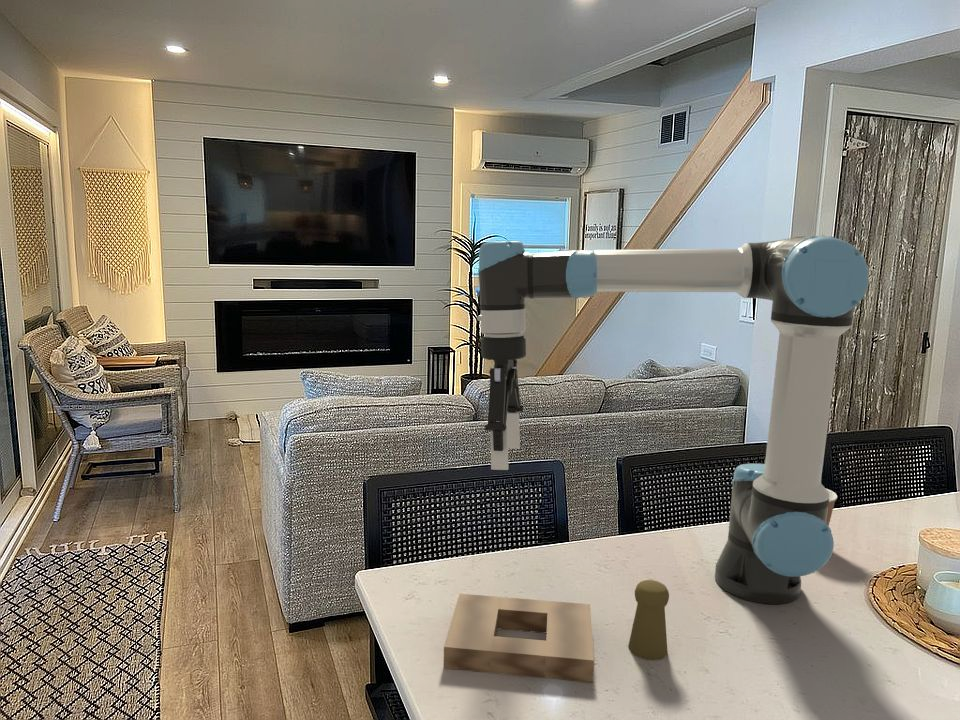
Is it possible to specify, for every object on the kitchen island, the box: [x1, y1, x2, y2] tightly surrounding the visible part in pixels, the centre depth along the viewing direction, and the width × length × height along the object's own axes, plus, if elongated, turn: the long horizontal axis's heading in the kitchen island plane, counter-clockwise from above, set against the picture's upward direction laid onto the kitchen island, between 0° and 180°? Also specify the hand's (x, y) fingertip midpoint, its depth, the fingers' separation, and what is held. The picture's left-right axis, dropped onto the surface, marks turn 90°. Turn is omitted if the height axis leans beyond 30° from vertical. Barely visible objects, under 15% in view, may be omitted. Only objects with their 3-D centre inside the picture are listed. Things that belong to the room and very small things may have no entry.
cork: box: [627, 579, 670, 661], centre depth 111 cm, size 6×6×11 cm
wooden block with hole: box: [443, 593, 595, 683], centre depth 112 cm, size 22×16×4 cm
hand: (506, 458), depth 122 cm, fingers open, 13 cm apart
